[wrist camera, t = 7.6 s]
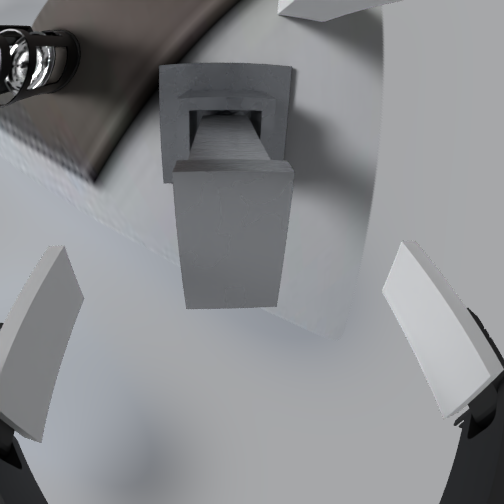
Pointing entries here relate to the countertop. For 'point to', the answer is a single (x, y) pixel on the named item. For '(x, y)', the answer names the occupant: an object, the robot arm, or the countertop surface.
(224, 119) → the column
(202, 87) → the base
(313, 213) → the countertop surface
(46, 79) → the french press
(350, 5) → the milk
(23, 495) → the robot arm
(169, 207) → the countertop surface
